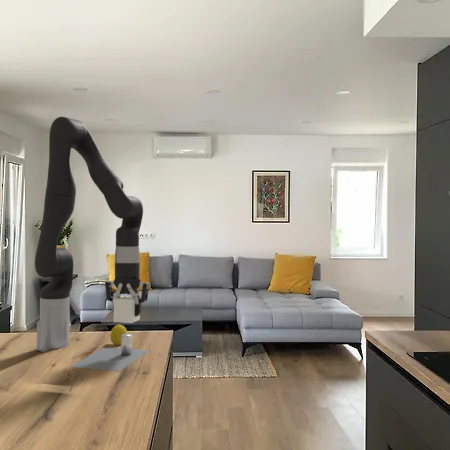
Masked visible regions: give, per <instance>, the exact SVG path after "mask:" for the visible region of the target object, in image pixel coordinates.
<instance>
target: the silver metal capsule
mask: <svg viewBox="0 0 450 450" xmlns="http://www.w3.org/2000/svg"><path fill="white" fill-rule="evenodd" d="M120 346H121V347H120V348H121V355H122V356H129V355H132V349H133V334H131V333H127V334H122V335H121V345H120Z"/></svg>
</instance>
